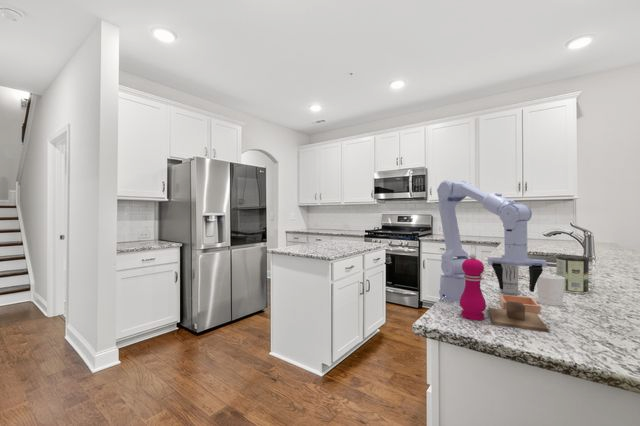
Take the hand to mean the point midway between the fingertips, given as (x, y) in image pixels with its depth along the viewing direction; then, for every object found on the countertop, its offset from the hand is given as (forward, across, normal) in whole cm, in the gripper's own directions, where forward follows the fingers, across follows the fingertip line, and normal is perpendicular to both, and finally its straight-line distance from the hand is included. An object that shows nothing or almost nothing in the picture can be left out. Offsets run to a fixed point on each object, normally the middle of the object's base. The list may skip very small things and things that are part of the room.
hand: (516, 289), depth 89 cm
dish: (+9, +3, +14) cm, 17 cm away
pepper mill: (+10, -12, -2) cm, 15 cm away
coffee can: (+10, +28, +48) cm, 57 cm away
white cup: (+10, +14, +24) cm, 29 cm away
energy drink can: (+9, +3, +34) cm, 35 cm away
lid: (+9, 0, 0) cm, 9 cm away
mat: (+10, 0, 0) cm, 10 cm away
